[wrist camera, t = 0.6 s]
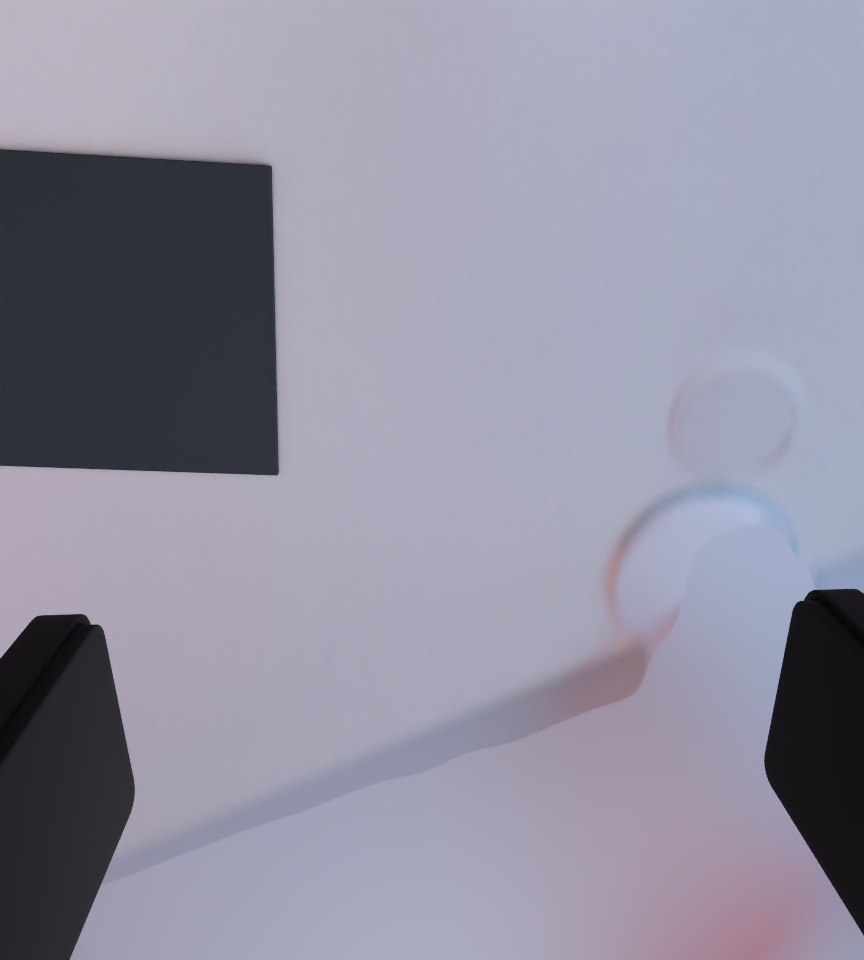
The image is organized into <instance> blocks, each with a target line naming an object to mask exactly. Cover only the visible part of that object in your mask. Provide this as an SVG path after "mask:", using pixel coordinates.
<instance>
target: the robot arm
mask: <svg viewBox="0 0 864 960" xmlns="http://www.w3.org/2000/svg"><path fill="white" fill-rule="evenodd" d="M764 759H765V760H764V762H765V770H766V775H767V778H768V781H769V783H770V784H771V787H772V788H773V790H774V791H775V793H776V795H777V796H778V798H779V799H780V801H781V803H782V804H783V806H784V808H785V809H786V810H787V812H788V814H789V815H790V817H791V819H792V820H793V822H794V824H795V825H796V827H797V828H798V830H799V832H800V833H801V835H802V837H803V838H804V840H805V841H806V843H807V845H808V846H809V848H810V849H811V851H812V853H813V854H814V856H815V857H816V859H817V861H818V862H819V864H820V866H821V867H822V869H823V870H824V872H825V874H826V875H827V877H828V878H829V880H830V882H831V883H832V885H833V887H834V888H835V890H836V891H837V893H838V895H839V896H840V898H841V899H842V901H843V903H844V904H845V906H846V908H847V909H848V911H849V912H850V914H851V915H852V917H853V919H854V920H855V922H856V924H857V925H858V927H859V928H860V930H861V932H862V933H863V935H864V593H862V592H861V591H859V590H857V589H833V590H813V591H811V592H809V593H808V595H807V596H806V597H805V600H804V601H800V602H798V603H796V605H795V606H794V609H793V612H792V617H791V622H790V627H789V633H788V637H787V643H786V648H785V653H784V659H783V663H782V668H781V674H780V679H779V684H778V689H777V694H776V699H775V705H774V710H773V715H772V720H771V725H770V730H769V735H768V741H767V746H766V751H765V758H764ZM134 794H135V785H134V778H133V773H132V768H131V763H130V759H129V754H128V749H127V744H126V739H125V734H124V729H123V724H122V719H121V714H120V709H119V704H118V699H117V694H116V689H115V684H114V679H113V674H112V669H111V664H110V659H109V654H108V649H107V644H106V639H105V635H104V631H103V629H102V627H101V626H99V625H91V624H90V621H89V620H88V618H87V616H85V615H83V614H72V615H42V616H37V617H35V618H34V619H33V620H32V621H31V622H30V623H29V625H28V626H27V627H26V628H25V629H24V631H23V632H22V633H21V634H20V635H19V637H18V638H17V639H16V640H15V642H14V643H13V644H12V645H11V646H10V648H9V649H8V650H7V651H6V653H5V654H4V655H3V656H2V657H1V659H0V960H70V957H71V955H72V952H73V950H74V947H75V945H76V943H77V940H78V938H79V936H80V933H81V931H82V928H83V926H84V923H85V921H86V919H87V916H88V914H89V912H90V909H91V907H92V904H93V902H94V899H95V897H96V894H97V892H98V890H99V888H100V885H101V883H102V880H103V878H104V876H105V873H106V871H107V868H108V866H109V864H110V861H111V859H112V856H113V854H114V852H115V849H116V847H117V844H118V842H119V840H120V837H121V835H122V832H123V830H124V828H125V825H126V823H127V820H128V818H129V816H130V813H131V810H132V807H133V802H134Z"/></svg>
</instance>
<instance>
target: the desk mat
mask: <svg viewBox="0 0 864 960" xmlns="http://www.w3.org/2000/svg"><path fill="white" fill-rule="evenodd" d="M0 466H26V467H54V468H83V469H111V470H140V471H168V472H197V473H225V474H254V475H278V473H279V472H278V428H277V383H276V339H275V294H274V250H273V206H272V167H271V166H264V165H247V164H231V163H214V162H197V161H181V160H164V159H147V158H131V157H114V156H97V155H81V154H64V153H47V152H30V151H14V150H0Z"/></svg>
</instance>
